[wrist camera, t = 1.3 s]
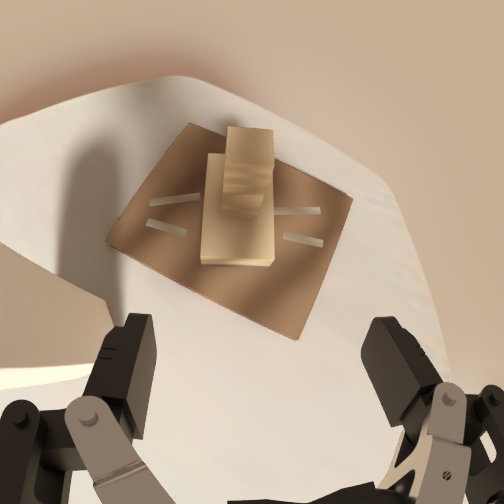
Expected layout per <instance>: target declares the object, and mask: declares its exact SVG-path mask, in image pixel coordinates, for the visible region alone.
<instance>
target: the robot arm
mask: <svg viewBox="0 0 504 504" xmlns="http://www.w3.org/2000/svg"><path fill="white" fill-rule="evenodd" d="M156 357H157V349H156V341H155V335H154V328H153V320H152V316H151V314H139V313H129V315H128V317H127V320H126V322H125V325H124V327H118V326H115V327H114V328H113V329H112V330H111V331H110V332H108V333H107V334H106V335H105V338H104V340H103V342H102V345H101V349H100V350H99V353H98V355H97V359H96V360H95V363H94V366H93V368H92V371H91V374H90V376H89V379H88V382H87V385H86V387H85V390H84V393H83V395H82V397H79V398H77V399H75V400H73V401H72V402H71V403H70V404H69V405H68V407H67V408H65V409H60V410H45V411H39V410H38V409H37V407H36V406H35V405H34V404H33V403H32V402H30V401H27V400H16V401H13V402H12V403H10V404H9V405H8V406H7V407H6V408H5V409H4V411H3V413H2V416H1V419H0V504H68V500H69V492H70V484H71V478H72V471H77V470H88V472H89V474H90V476H91V478H92V480H93V482H94V484H93V487H94V489H95V491H96V493H97V495H98V497H99V499H100V500H101V502H102V504H176V503H175V502H174V501H173V500H172V498H171V497H170V496H169V495H168V493H167V492H166V491H165V490H164V488H163V487H162V486H161V484H160V483H159V482H158V480H157V479H156V478H155V476H154V475H153V474H152V472H151V471H150V469H149V468H148V467H147V466H146V464H145V463H144V462H143V461H142V460H141V458H140V457H139V456H138V454H137V453H136V451H135V450H134V448H133V446H132V442H133V438H134V439H141V440H143V433H144V427H145V421H146V415H147V409H148V403H149V397H150V392H151V386H152V381H153V375H154V370H155V365H156ZM361 359H362V362H363V365H364V367H365V369H366V371H367V373H368V376H369V378H370V380H371V382H372V384H373V387H374V389H375V391H376V393H377V396H378V398H379V400H380V402H381V405H382V407H383V409H384V412H385V414H386V416H387V419H388V421H389V423H390V426H391V427H395V426H399V425H403V427H404V430H403V431H402V432H401V435H400V438H399V441H398V444H397V447H396V450H395V453H394V456H393V459H392V462H391V464H390V467H389V470H388V472H387V474H386V476H385V477H384V479H383V480H382V481H381V483H380V484H379V486H378V488H375V485H374V482H373V481H372V482H368V483H365V484H360V485H356V486H352V487H348V488H343V489H340V490H338V491H336V492H333V493H331V494H329V495H327V496H324V497H322V498H319V499H317V500H315V501H312V502H309V503H294V502H284V501H276V500H268V499H263V500H241V501H227V504H462V502H463V498H464V493H465V494H466V497H467V500H468V502H469V504H504V391H503V390H502V389H501V388H499V387H497V386H495V385H487V386H486V387H484V389H483V390H482V391H481V393H480V394H479V395H474V394H465V393H464V392H463V391H462V389H461V388H460V387H458V386H457V385H455V384H453V383H449V382H443V380H442V379H441V377H440V376H439V374H438V372H437V371H436V369H435V368H434V366H433V364H432V363H431V361H430V360H429V358H428V357H427V355H425V352H424V350H423V349H422V348H420V344H419V343H418V341H417V340H416V338H415V337H414V336H413V335H412V334H411V333H409V332H408V331H407V330H406V329H405V328H402V327H401V325H400V324H399V322H398V321H397V319H396V318H395V317H393V316H388V317H375V318H374V319H373V321H372V323H371V325H370V328H369V330H368V333H367V335H366V338H365V340H364V343H363V345H362V348H361ZM486 431H487V432H488V434H489V436H490V438H491V440H492V442H493V444H494V447H495V449H496V453H497V455H496V458H495V460H494V461H493V463H491V462H490V460H489V457H488V455H487V453H486V451H485V448H484V446H483V444H482V442H481V440H480V437H481V436H482V435H483V434H484V433H485V432H486Z"/></svg>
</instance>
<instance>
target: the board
mask: <svg viewBox="0 0 504 504" xmlns="http://www.w3.org/2000/svg"><path fill="white" fill-rule="evenodd" d="M226 140H227V138H226V137H224V136H221V135H219V134H217V133H214V132H212V131H209V130H207V129H204V128H202V127H199V126H196V125H194V124H191V123H189V124H188V125H187V126H186V128H185V129H184V130H183V131H182V133H181V134H180V135H179V136H178V138H177V139H176V140H175V141H174V143H173V144H172V145H171V146H170V148H169V149H168V150H167V152H166V153H165V154H164V156H163V157H162V158H161V160H160V161H159V162H158V164H157V165H156V166H155V168H154V169H153V170H152V172H151V173H150V174H149V176H148V177H147V179H146V180H145V181H144V183H143V184H142V186H141V187H140V189H139V190H138V191H137V193H136V194H135V196H134V197H133V199H132V200H131V202H130V203H129V205H128V206H127V208H126V209H125V211H124V212H123V214H122V215H121V217H120V218H119V220H118V222H117V223H116V225H115V226H114V228H113V229H112V231H111V233H110V234H109V236H108V238H107V239H106V242H107V243H108V244H109V245H110V246H112V247H114V248H116V249H117V250H119V251H121V252H122V253H124V254H126V255H128V256H129V257H131V258H133V259H135V260H137V261H138V262H140V263H142V264H144V265H145V266H147V267H149V268H151V269H153V270H155V271H156V272H158V273H160V274H162V275H164V276H166V277H167V278H169V279H171V280H173V281H175V282H177V283H179V284H181V285H182V286H184V287H186V288H188V289H190V290H192V291H194V292H196V293H198V294H200V295H202V296H204V297H205V298H207V299H209V300H211V301H213V302H215V303H217V304H219V305H221V306H223V307H225V308H227V309H229V310H231V311H233V312H235V313H237V314H239V315H242V316H244V317H246V318H248V319H250V320H252V321H254V322H256V323H258V324H260V325H262V326H264V327H267V328H269V329H271V330H273V331H275V332H277V333H279V334H282V335H284V336H286V337H288V338H290V339H293V340H299V337H300V335H301V333H302V331H303V328H304V326H305V324H306V321H307V319H308V317H309V314H310V312H311V310H312V307H313V305H314V302H315V300H316V297H317V295H318V293H319V290H320V288H321V285H322V283H323V280H324V278H325V275H326V272H327V270H328V267H329V265H330V262H331V259H332V257H333V254H334V251H335V249H336V246H337V243H338V241H339V238H340V235H341V232H342V230H343V227H344V224H345V221H346V218H347V216H348V213H349V210H350V207H351V204H352V201H353V198H351V197H349V196H347V195H346V194H344V193H342V192H340V191H338V190H336V189H334V188H332V187H330V186H329V185H327V184H325V183H323V182H321V181H319V180H317V179H315V178H313V177H311V176H309V175H307V174H305V173H303V172H301V171H299V170H297V169H295V168H293V167H291V166H289V165H286V164H284V163H282V162H280V161H278V160H276V159H274V169H273V203H274V249H275V259H274V261H273V262H272V264H271V265H270V267H269V268H268V269H267V268H240V267H216V266H201V258H200V252H201V236H202V221H203V208H204V196H205V184H206V173H207V162H208V153H217V154H225V150H226Z"/></svg>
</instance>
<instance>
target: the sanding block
mask: <svg viewBox="0 0 504 504" xmlns="http://www.w3.org/2000/svg"><path fill="white" fill-rule="evenodd" d="M273 169H274V142H273V130H268V129H258V128H246V127H232V126H228V129H227V140H226V150H225V154H217V153H208V162H207V173H206V184H205V196H204V208H203V221H202V236H201V252H200V258H201V266H216V267H240V268H267V269H268V268H269V267H270V265H271V264H272V262H273V261H274V259H275V249H274V203H273Z"/></svg>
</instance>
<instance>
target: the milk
mask: <svg viewBox="0 0 504 504" xmlns="http://www.w3.org/2000/svg"><path fill="white" fill-rule="evenodd" d="M113 328H114V324H113V321H112V319H111V316H110V313H109V310H108V307H107V304H106V301H105V300H103V299H101V298H99V297H97V296H95V295H93V294H91V293H89V292H87V291H85V290H83V289H81V288H79V287H77V286H75V285H73V284H71V283H70V282H68V281H66V280H64V279H62V278H60V277H58V276H57V275H55V274H53V273H51V272H49V271H48V270H46V269H44V268H42V267H41V266H39V265H37V264H35V263H34V262H32V261H30V260H29V259H27V258H25V257H23V256H22V255H20V254H18V253H17V252H15V251H14V250H12V249H10V248H9V247H7V246H6V245H4V244H2V243H1V242H0V389H9V388H17V387H25V386H32V385H39V384H46V383H52V382H59V381H65V380H70V379H76V378H79V377H82V376H85V375H88V374H90V373H91V371H92V368H93V366H94V363H95V360H96V359H97V355H98V353H99V350H100V349H101V345H102V342H103V340H104V338H105V335H106V334H107V333H108V332H110V331H111V330H112V329H113Z"/></svg>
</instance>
